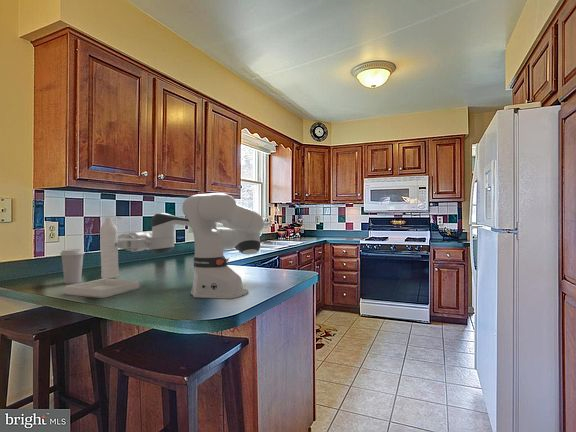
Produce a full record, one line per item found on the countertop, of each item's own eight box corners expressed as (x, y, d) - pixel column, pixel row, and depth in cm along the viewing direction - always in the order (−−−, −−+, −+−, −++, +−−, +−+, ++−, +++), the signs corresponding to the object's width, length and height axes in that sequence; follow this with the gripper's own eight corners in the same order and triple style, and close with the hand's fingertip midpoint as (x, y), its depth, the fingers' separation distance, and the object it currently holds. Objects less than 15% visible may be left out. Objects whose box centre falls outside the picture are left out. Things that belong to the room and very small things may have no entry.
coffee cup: (69, 285, 154) (68, 251, 154) (55, 283, 158) (55, 250, 158) (89, 281, 163) (89, 249, 163) (76, 279, 167) (75, 248, 167)
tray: (139, 288, 145) (139, 281, 145) (102, 298, 129) (101, 290, 129) (104, 285, 153) (104, 278, 153) (64, 294, 136) (64, 286, 136)
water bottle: (105, 279, 141) (103, 217, 140) (98, 277, 144) (96, 217, 144) (127, 275, 147) (125, 216, 147) (119, 274, 151) (117, 216, 151)
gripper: (153, 249, 154) (128, 252, 141) (119, 248, 161) (92, 251, 149) (153, 235, 154) (128, 237, 141) (118, 234, 161) (92, 236, 149)
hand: (109, 244), depth 145 cm, fingers closed on water bottle, 6 cm apart
